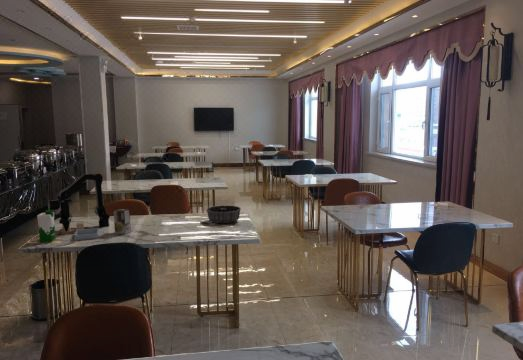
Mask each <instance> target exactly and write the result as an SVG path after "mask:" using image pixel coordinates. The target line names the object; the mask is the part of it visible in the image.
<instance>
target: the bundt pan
mask: <svg viewBox="0 0 523 360" xmlns="http://www.w3.org/2000/svg"><path fill="white" fill-rule="evenodd" d="M241 210H242V209H241V207H239V206H236V205H215V206H209V207H208V208H207V207H206V210H205V211H206V213H207V218H208V220H209V221H211V222H212V223H216V224H228V223H229V224H230V223H234V222H237V221H238V220H239V218H240V213H241Z"/></svg>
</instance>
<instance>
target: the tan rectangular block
mask: <svg viewBox="0 0 523 360" xmlns="http://www.w3.org/2000/svg"><path fill="white" fill-rule="evenodd" d="M61 226H62V227H61V229H63V233H68V232H70V231H71V228H72V227H71V223H70V224H69V227H68V230H67V231H65V229H64V226H63V224H61Z"/></svg>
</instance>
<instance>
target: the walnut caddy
mask: <svg viewBox="0 0 523 360" xmlns="http://www.w3.org/2000/svg"><path fill="white" fill-rule="evenodd" d="M70 228H71V231H70V232H68V233H63V228H60V229H59V231H58V233H57V235H58V236H65V235H75V233H76V230H77V227H70ZM84 229H90V228H89V226H84Z"/></svg>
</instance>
